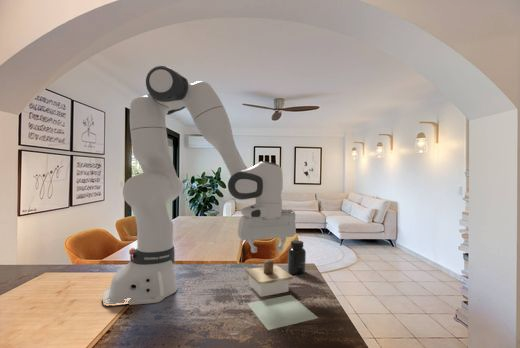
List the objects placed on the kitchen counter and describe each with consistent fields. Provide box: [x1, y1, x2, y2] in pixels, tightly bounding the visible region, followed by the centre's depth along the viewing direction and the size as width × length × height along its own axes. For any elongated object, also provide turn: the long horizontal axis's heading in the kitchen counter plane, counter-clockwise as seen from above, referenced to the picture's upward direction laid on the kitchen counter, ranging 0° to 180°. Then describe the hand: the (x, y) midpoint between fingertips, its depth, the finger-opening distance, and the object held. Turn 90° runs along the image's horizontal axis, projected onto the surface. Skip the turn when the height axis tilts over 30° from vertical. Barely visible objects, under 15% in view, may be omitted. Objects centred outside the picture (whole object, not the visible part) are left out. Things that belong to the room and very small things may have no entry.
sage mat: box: [246, 294, 319, 331], centre depth 80 cm, size 15×15×1 cm
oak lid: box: [245, 259, 294, 285], centre depth 95 cm, size 12×12×5 cm
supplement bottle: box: [287, 240, 307, 276], centre depth 111 cm, size 7×7×12 cm
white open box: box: [248, 275, 290, 298], centre depth 95 cm, size 10×10×5 cm
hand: (266, 251), depth 95 cm, fingers open, 8 cm apart
